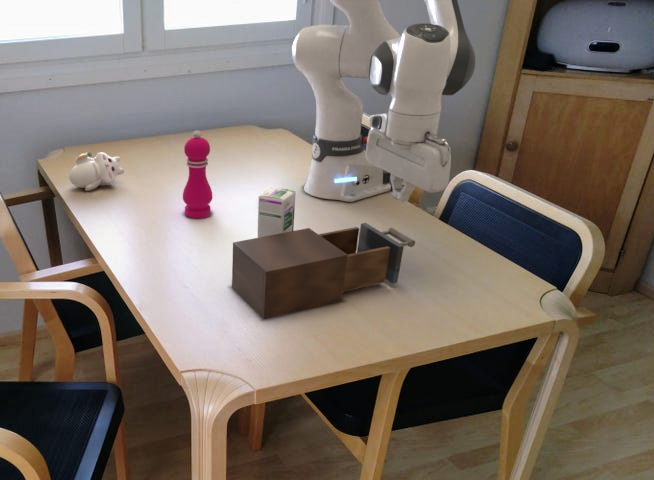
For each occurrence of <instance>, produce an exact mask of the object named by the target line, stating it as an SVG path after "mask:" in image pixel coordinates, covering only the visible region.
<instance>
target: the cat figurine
mask: <svg viewBox="0 0 654 480" xmlns="http://www.w3.org/2000/svg"><path fill="white" fill-rule="evenodd" d="M74 159H75V164H76V165H75V166H74V167H72V169H71V170H70V172H69V175H68V179H69V182H70V183H71V184H72V185H73V187H74V186H75V187H77V188H80V189H84V190H85V191H86V192H90V191H93V190H94V189H96V188H98V186H103V187H104V186H107V185H109V184H112V183H113V182H114V181H115V180H116V178H117V177H118V176H119V175H123V174H124V173H125V170H124V169H123V167H120V165H119V163H120V160H121V158H120V156H118V155H117V156H114V157H112V156H110V155H108V154H107V153H106V152H97V153H96V155H95V157H93V153H92V152H89V151H88V152H85V153H81V154H80V155H78V156H77V157H75V158H74Z"/></svg>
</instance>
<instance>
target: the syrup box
mask: <svg viewBox="0 0 654 480" xmlns="http://www.w3.org/2000/svg"><path fill="white" fill-rule="evenodd" d="M257 204H258V206H257V238H259V237H264V236H270V235H275V234H280V233H285V232H291V231H294V224H295V212H296V211H295V208H296V191H295V190H291V189H288V188H284V187H272V186H271V187H270V188H269V189H267V190H266V191H264V192H263V193H261V194H260V195H258V203H257Z"/></svg>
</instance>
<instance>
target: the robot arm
mask: <svg viewBox="0 0 654 480" xmlns="http://www.w3.org/2000/svg"><path fill="white" fill-rule="evenodd" d="M422 1H423V2H424V5H425V6H426V10H427V15H428V19H429V22H430V23H429V22H428V23H427V22H419V23H414V24H412V25H409V26H407V27H406V28H404V30H403V32H402V33H401V35H400V33H399V32H398V31H397V30H396V29H395V28H394V27H393V26H392V25H391V24H390V23H389V21H388V20H387V18H386V16H385V14H384V12H383V10H382V9H383V8H382V5H381V3H380V0H329V2H330V4H332V6H334V7H335V8H337V9H338V10H340V11H341V12H343V13H344V14H345V16H346V18H347V20H348V23H349V24H348V25H344V24H343V25H342V24H324V23H323V24H316V25H311V26H310V25H309V26H306V27H303V28H302V29H300V30H299V32H298V33H297V34H296V36H295V38H294V40H293V43H292V45H291V46H292V47H291V57H292V62H293V64H294V66H295V67H296V69H297V70H298V71H299V72H300V73H301V74H303V76H304V77H305V78H306V80H307V81H308V83H309V85H310V87H311V89H312V92H313V95H314V98H315V99H314V100H315V106H316V107H315V131H314V133H313V135H312V142H311V162H310V167H309V171H308V172H309V173H308V175H307V178H306V181H305V184H304V186H303V190H304V192H305V193H306V194H307V195H309V196H312V197H316V198H319V199H324V200H337V201H343V202H347V203H348V202H349V203H352V202H356V201H359V200H363V199H366V198H370V197H373V196H376V195H379V194H383V193H387V192H389V191H391V198H393V199H395V200H397V201H398V202H401V203H406V202H408V201H409V200H410V195H411V193H412V191H413V190H414V189H415V187H417V188H419V189H421V190H423V191H424V192H427V193H429V194H432V193H438V192H442V191H445V189H446V188H448V186H449V182H450V177H451V176H450V175H451V167H452V155H451V147H450V145H449V143H448V140H447V139H446V138H445V137H442V136H438V135H437V134H438V127H439V123H440V118H441V112H442V96H454V95H455V94H457V93H458V92H459V91H460V90H462V89H463V88H464V87H465V86H466V85H468V83H469V81H471V79H472V78H473V76H474V72H475V68H476V53H475V50H474V47H473V44H472V42H471V40H470V38H469V35H468V34H467V31H466V28H465V25H464V21H463V17H462V13H461V9H460V5H459V1H458V0H422ZM343 78H354V79H367V80H368V83H369V84H370V86H371V87H372V89H374V91H375V92H376V93H377V94H378V95H382V96H388V97H390V96H391V100H390V104H389V107H388V111H387V112H381V113H376V114H372V115H370V118H369V122H368V123H369V124H368V125H369V127H370V129H369V130H368V134H367V136H364V135H362V134H361V130H362V123H363V116H364V115H363V114H364V104H363V101H362V100H361V98H360V97H359V96H358V95H357V94H355V93H354V92H352V91H350V89H348V88H347V87H346V85H345V82H344V80H343ZM365 145H366V148H365Z"/></svg>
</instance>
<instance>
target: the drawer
mask: <svg viewBox="0 0 654 480" xmlns="http://www.w3.org/2000/svg"><path fill="white" fill-rule="evenodd" d="M317 234H318V235H320V236H321V237H323V238H324V239H326V240H327V241H328V242H330V243H331V244H333V245H334V246H336V247H337V248H338V249H340V250H341V251H343V252H344V253H346V254H347V255H348V256H347V264H346V272H345V279H344V287H343V293H344V292H348V291H352V290H357V289H361V288H366V287H370V286H375V285H379V284H384V283H386V280H387V281H388V282H389V283H390V284H397V283H398V281H399V276H400V271H401V265H402V260H403V259H402V258H403V253H404V248H405V247H407V246H408V247H409V248H413V247H414V246H415V244H416V240H414V239H412V238H410V237H409V236H407V235H405V234H403V233H402V232H400V231H399V230H397V229H395V228H394V227H389V228H388V229H387V230H384V231H380V230H379V229H377V228H375V227H374V226H372V225H370V224H369V223H367V222H362V223H360V228H359V227H358V226H354V227H348V228H344V229H338V230H334V231H329V232H323V233H317ZM388 235H389V236H388ZM390 236H391V237H390ZM392 237H393V238H394V239H393V238H392ZM395 239H396V240H395ZM398 241H399V242H398Z"/></svg>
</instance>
